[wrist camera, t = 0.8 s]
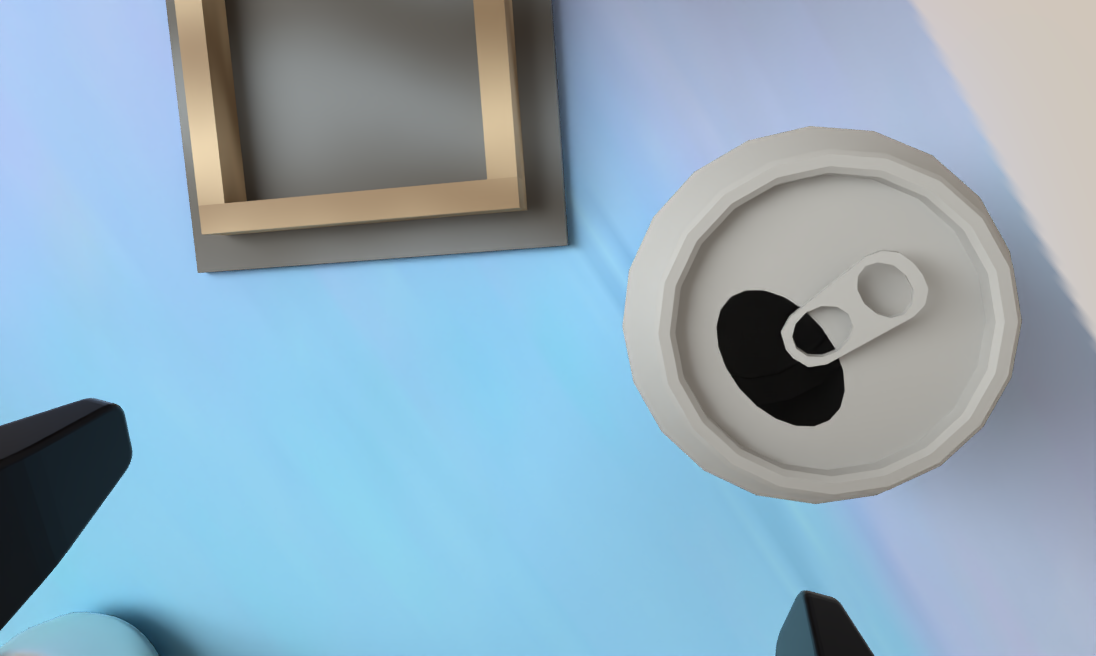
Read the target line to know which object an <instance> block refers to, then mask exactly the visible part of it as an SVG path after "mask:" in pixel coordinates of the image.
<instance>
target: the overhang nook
mask: <svg viewBox="0 0 1096 656" xmlns="http://www.w3.org/2000/svg"><path fill="white" fill-rule="evenodd" d="M166 7H167V15H168V24H169V32H170V41H171V49H172V58H173V66H174V75H175V83H176V92H177V100H178V109H179V117H180V126H181V134H182V142H183V151H184V159H185V168H186V176H187V185H188V193H189V202H190V210H191V219H192V227H193V236H194V244H195V253H196V261H197V270H198V273H204V272H218V271H231V270H245V269H258V268H271V267H285V266H298V265H312V264H325V263H338V262H352V261H365V260H379V259H392V258H405V257H419V256H432V255H445V254H459V253H472V252H486V251H499V250H512V249H526V248H539V247H553V246H566V245H568V230H567V215H566V201H565V186H564V171H563V157H562V142H561V127H560V113H559V98H558V83H557V69H556V54H555V39H554V25H553V10H552V0H166Z"/></svg>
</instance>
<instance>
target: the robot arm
mask: <svg viewBox="0 0 1096 656" xmlns="http://www.w3.org/2000/svg"><path fill="white" fill-rule="evenodd" d="M131 458H132V446H131V441H130V437H129V432H128V427H127V423H126V418H125V414H124V411H123V409H122V408H121V407H120V406H119V405H117V404H114V403H110V402H106V401H103V400H99V399H95V398H87V399H83V400H80V401H76V402H73V403H70V404H67V405H64V406H61V407H58V408H55V409H51V410H48V411H45V412H42V413H39V414H36V415H33V416H29V417H26V418H23V419H20V420H17V421H14V422H11V423H7V424H4V425H1V426H0V631H1V629H2V628H3V627H4V626H5V625H6V624H7V623H8V621H9V620H10V619H11V618H12V617H13V616H14V615H15V613H16V612H17V611H18V610H19V609H20V608H21V607H22V605H23V604H24V603H25V602H26V601H27V600H28V599H29V597H30V596H31V595H32V594H33V593H34V592H35V591H36V589H37V588H38V587H39V586H40V585H41V584H42V583H43V581H44V580H45V579H46V578H47V577H48V575H49V574H50V573H51V572H52V571H53V569H54V568H55V567H56V566H57V565H58V563H59V562H60V561H61V559H62V558H63V557H64V555H65V554H66V553H67V551H68V550H69V549H70V548H71V546H72V545H73V543H74V542H75V541H76V539H77V538H78V536H79V535H80V534H81V532H82V531H83V530H84V528H85V527H86V525H87V524H88V523H89V521H90V520H91V518H92V517H93V516H94V514H95V513H96V512H97V510H98V509H99V507H100V506H101V505H102V503H103V502H104V500H105V499H106V498H107V496H108V495H109V494H110V492H111V491H112V489H113V488H114V487H115V485H116V484H117V483H118V481H119V480H120V478H121V477H122V476H123V474H124V473H125V471H126V470H127V468H128V466H129V464H130V462H131ZM775 656H874V654H873V653H872V651H871V650H870V648H869V647H868V645H867V644H866V642H865V640H864V639H863V637H862V636H861V634H860V633H859V631H858V630H857V628H856V626H855V625H854V623H853V622H852V620H851V619H850V617H849V616H848V614H847V612H846V611H845V609H844V608H843V606H842V605H841V604H840V602H839V601H837V600H836V599H835V598H833V597H830V596H826V595H822V594H818V593H815V592H811V591H801V592H800V593H799V594H798V595H797V597H796V599H795V601H794V603H793V605H792V607H791V610H790V612H789V614H788V616H787V618H786V620H785V622H784V624H783V626H782V628H781V631H780V633H779V636H778V640H777V645H776V655H775Z"/></svg>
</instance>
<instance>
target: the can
mask: <svg viewBox="0 0 1096 656" xmlns="http://www.w3.org/2000/svg"><path fill="white" fill-rule="evenodd" d="M1021 323H1022V319H1021V313H1020V307H1019V300H1018V294H1017V288H1016V282H1015V276H1014V269H1013V264H1012V262H1011V256H1010V251H1009V249H1008V247H1007V246H1006V244H1005V242H1004V240H1003V238H1002V237H1001V235H1000V233H999V231H998V229H997V228H996V226H995V224H994V222H993V220H992V219H991V217H990V215H989V213H988V211H987V210H986V208H985V206H984V204H983V202H982V201H981V199H980V197H979V196H978V195H977V194H975V193H974V192H973V191H972V190H971V189H970V188H969V187H967V186H966V185H965V184H964V183H963V182H962V181H961V180H960V179H958V178H957V177H956V176H955V175H954V174H953V173H952V172H950V171H949V170H948V169H947V168H946V167H945V166H944V165H943V164H941V163H940V162H939V161H938V160H937V159H936V158H935V157H933V156H932V155H930V154H927V153H925V152H923V151H920V150H918V149H915V148H913V147H911V146H908V145H906V144H903V143H901V142H898V141H896V140H894V139H891V138H889V137H886V136H884V135H882V134H879V133H877V132H874V131H865V130H852V129H839V128H826V127H813V126H809V127H804V128H800V129H796V130H791V131H787V132H783V133H779V134H774V135H770V136H766V137H761V138H757V139H753V140H748V141H746V142H745V143H743V144H741V145H740V146H738V147H736V148H735V149H733V150H731V151H729V152H728V153H726V154H724V155H723V156H721V157H719V158H717V159H716V160H714V161H712V162H711V163H709V164H707V165H706V166H704V167H702V168H700V169H699V170H697V171H695V172H694V173H693V174H692V175H691V176H690V177H689V178H688V180H687V181H686V182H685V183H684V184H683V185H682V186H681V187H680V188H679V189H678V191H677V192H676V193H675V194H674V195H673V196H672V197H671V198H670V199H669V200H668V202H667V203H666V204H665V205H664V206H663V207H662V208H661V209H660V210H659V211H658V213H657V214H656V215H655V216H654V217H653V219H652V221H651V224H650V226H649V228H648V230H647V232H646V234H645V237H644V239H643V241H642V243H641V245H640V248H639V250H638V252H637V254H636V256H635V258H634V261H633V263H632V265H631V267H630V269H629V275H628V284H627V293H626V301H625V310H624V318H623V332H624V337H625V342H626V347H627V352H628V357H629V362H630V367H631V371H632V376H633V381H634V384H635V386H636V387H637V389H638V391H639V393H640V394H641V396H642V398H643V400H644V401H645V403H646V405H647V407H648V408H649V410H650V412H651V414H652V415H653V417H654V419H655V421H656V422H657V424H658V426H659V428H660V430H661V431H662V432H663V433H664V434H665V435H666V436H667V437H668V438H669V439H670V440H671V441H673V442H674V443H675V444H676V445H677V446H678V447H679V448H680V449H681V450H682V451H683V452H684V453H686V454H687V455H688V456H689V457H690V458H691V459H692V460H693V461H694V462H695V463H696V464H697V465H699V466H700V467H701V468H702V469H703V470H704V471H706V472H709V473H711V474H713V475H715V476H717V477H719V478H721V479H723V480H725V481H728V482H730V483H732V484H734V485H736V486H738V487H740V488H742V489H744V490H747V491H749V492H751V493H753V494H755V495H759V496H765V497H772V498H779V499H786V500H792V501H799V502H806V503H812V504H819V503H826V502H833V501H840V500H847V499H853V498H860V497H867V496H874V495H878V494H880V493H882V492H884V491H886V490H890V489H892V488H894V487H896V486H898V485H900V484H902V483H905V482H907V481H909V480H911V479H913V478H915V477H917V476H920V475H922V474H924V473H926V472H928V471H930V470H932V469H935V468H937V467H939V466H941V465H942V464H943V463H944V462H945V461H946V460H947V459H948V458H950V457H951V456H952V455H953V454H954V453H955V452H956V451H957V450H958V449H959V448H961V447H962V446H963V445H964V444H965V443H966V442H967V441H968V440H969V439H970V438H971V437H973V436H974V435H975V434H976V433H977V432H978V431H979V430H980V429H981V428H982V427H983V426H984V425H985V423H986V421H987V419H988V417H989V416H990V414H991V412H992V410H993V409H994V407H995V405H996V403H997V402H998V400H999V398H1000V396H1001V394H1002V393H1003V391H1004V389H1005V387H1006V386H1007V384H1008V382H1009V380H1010V379H1011V377H1012V371H1013V366H1014V360H1015V355H1016V350H1017V344H1018V339H1019V334H1020V328H1021Z"/></svg>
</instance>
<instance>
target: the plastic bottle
mask: <svg viewBox="0 0 1096 656" xmlns="http://www.w3.org/2000/svg"><path fill="white" fill-rule="evenodd" d="M0 656H159V655H158V653H157V651H156V650H155V648H154V646H153V645H152V644H151V642H150V641H149V640H148V639H147V638H146V636H145V635H144V634H142V633H141V632H140V631H139V630H138V629H137V628H136V627H134V626H133V625H131V624H129V623H128V622H126V621H124V620H122V619H119V618H117V617H114V616H110V615H105V614H98V613H90V612H73V613H69V614H65V615H62V616H59V617H56V618H54V619H51V620H48V621H46V622H43V623H41V624H38V625H35V626H33V627H30V628H28V629H26V630H24V631H23V632H21V633H19V634H17V635H16V636H15V637H13V638H12V639H11V640H9V641H8V642H7V643H5V644H4V645H3V646H1V647H0Z"/></svg>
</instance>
